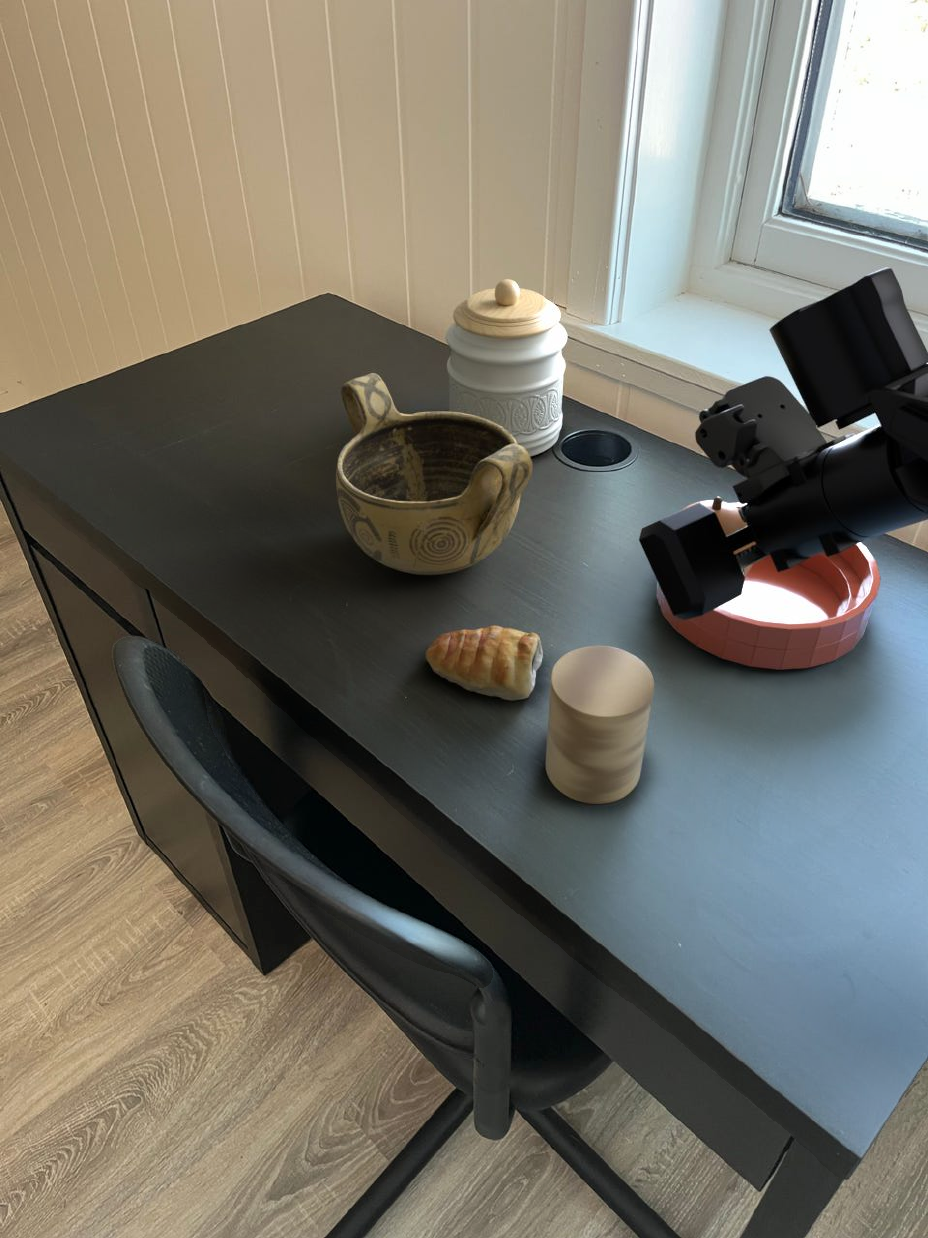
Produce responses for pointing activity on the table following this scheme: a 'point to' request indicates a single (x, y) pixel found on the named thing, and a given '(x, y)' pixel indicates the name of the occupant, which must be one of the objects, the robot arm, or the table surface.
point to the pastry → (488, 660)
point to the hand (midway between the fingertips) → (693, 552)
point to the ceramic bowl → (426, 482)
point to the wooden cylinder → (597, 723)
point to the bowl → (790, 612)
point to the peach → (727, 520)
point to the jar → (509, 363)
